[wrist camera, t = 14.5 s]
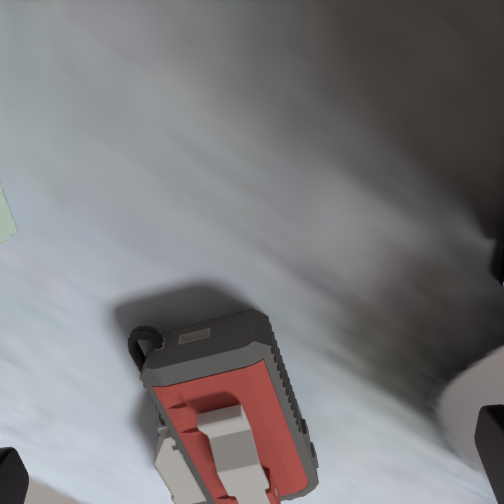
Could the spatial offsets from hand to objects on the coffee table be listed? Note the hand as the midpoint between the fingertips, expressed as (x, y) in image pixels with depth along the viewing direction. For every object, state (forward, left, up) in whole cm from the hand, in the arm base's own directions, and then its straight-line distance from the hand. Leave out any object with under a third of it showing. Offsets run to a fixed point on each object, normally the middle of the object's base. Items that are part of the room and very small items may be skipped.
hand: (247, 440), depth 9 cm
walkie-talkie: (+2, +15, -13) cm, 20 cm away
